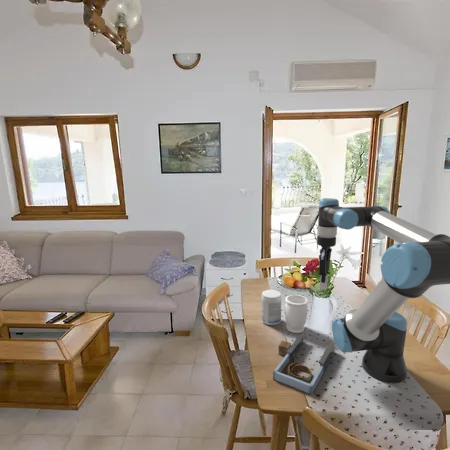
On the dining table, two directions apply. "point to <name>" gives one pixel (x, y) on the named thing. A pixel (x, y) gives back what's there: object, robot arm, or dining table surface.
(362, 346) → the robot arm
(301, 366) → the bracelet
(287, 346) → the brown wooden cube
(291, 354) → the slot rail
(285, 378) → the tray
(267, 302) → the supplement tub
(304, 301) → the jar
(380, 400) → the dining table surface
